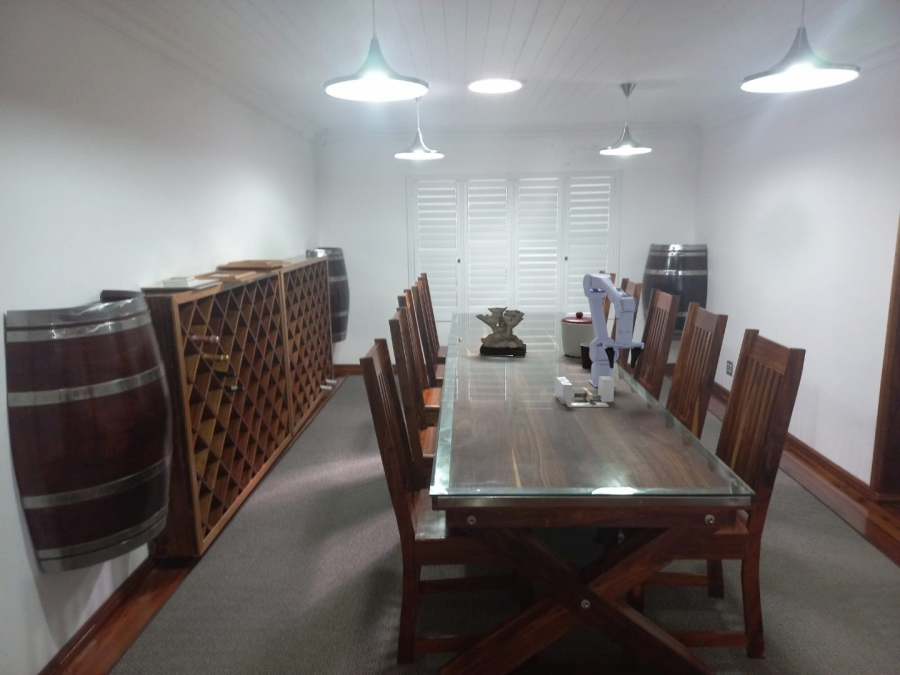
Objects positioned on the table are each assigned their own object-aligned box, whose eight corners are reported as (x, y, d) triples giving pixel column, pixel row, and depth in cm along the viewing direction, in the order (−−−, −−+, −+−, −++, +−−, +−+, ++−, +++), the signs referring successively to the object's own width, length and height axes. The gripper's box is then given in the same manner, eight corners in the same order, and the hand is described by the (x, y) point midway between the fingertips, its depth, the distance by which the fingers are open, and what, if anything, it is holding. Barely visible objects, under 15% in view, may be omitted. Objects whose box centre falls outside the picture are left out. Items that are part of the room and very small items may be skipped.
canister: (569, 349, 296) (571, 308, 292) (603, 354, 285) (605, 311, 281) (551, 355, 282) (553, 311, 278) (586, 360, 271) (588, 315, 267)
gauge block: (589, 397, 211) (590, 376, 210) (608, 397, 212) (610, 376, 210) (593, 402, 207) (594, 379, 205) (613, 401, 207) (614, 379, 205)
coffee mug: (585, 370, 253) (586, 347, 252) (575, 365, 262) (576, 343, 260) (609, 368, 256) (610, 346, 255) (599, 364, 265) (600, 342, 263)
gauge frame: (555, 395, 214) (555, 376, 213) (596, 395, 215) (597, 376, 213) (564, 407, 200) (565, 387, 199) (608, 406, 201) (610, 386, 200)
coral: (472, 354, 282) (472, 310, 278) (479, 346, 302) (479, 305, 298) (524, 357, 277) (526, 312, 273) (528, 349, 297) (529, 306, 293)
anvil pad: (571, 395, 213) (571, 387, 213) (585, 395, 213) (585, 387, 213) (581, 406, 200) (581, 398, 199) (596, 406, 200) (596, 398, 200)
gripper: (607, 332, 206) (605, 370, 208) (648, 332, 207) (645, 370, 209) (601, 329, 213) (599, 366, 215) (640, 329, 214) (638, 365, 216)
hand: (621, 367), depth 213 cm, fingers open, 7 cm apart
